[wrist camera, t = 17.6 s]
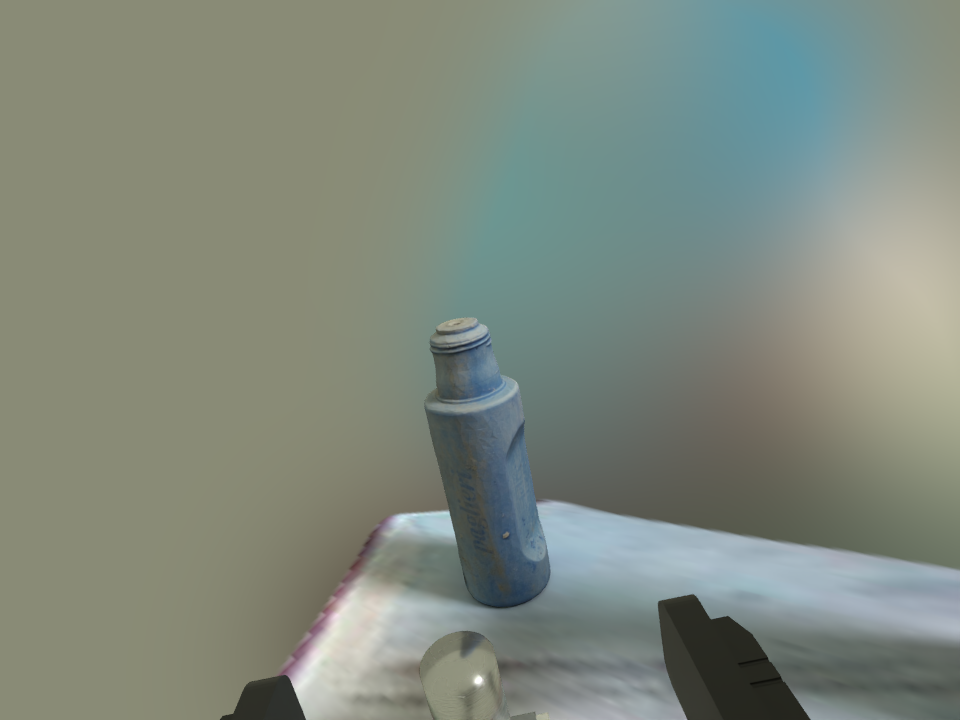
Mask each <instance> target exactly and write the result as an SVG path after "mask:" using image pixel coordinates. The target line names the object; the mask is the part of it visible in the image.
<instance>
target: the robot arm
mask: <svg viewBox="0 0 960 720" xmlns="http://www.w3.org/2000/svg"><path fill="white" fill-rule="evenodd" d="M658 611H659V619H660V627H661V636H662V644H663V652H664V659H665V664H666V667H667V671H668V674H669V678H670V680H671V683H672V686H673V688H674V691H675V693H676V695H677V697H678V700H679V702H680V704H681V706H682V708H683V711H684V713H685V715H686V717H687V720H810V718H809V717H808V715H807V714H806V712H805V711H804V709H803V708H802V707H801V705H800V704H799V702H798V701H797V699H796V698H795V696H794V695H793V693H792V692H791V691H790V689H789V688H788V686H787V685H786V683H785V682H783V681H782V678H781V676H780V674H779V673H778V672H777V670H776V669H775V667H774V666H773V664H772V663H771V662H769V660H768V657H767V656H766V654H765V653H764V651H763V650H762V648H761V647H760V645H759V644H758V642H757V641H756V639H755V638H754V637H753V635H752V634H751V633H750V632H748V631H747V630H746V629H744V628H743V627H742V626H741V625H739V624H738V623H737V622H735V621H734V620H733V619H731V618H730V617H729V616H726V617H721V618H716V619H710V618H709V616H708V614H707V613H706V611H705V610H704V608H703V606H702V605H701V603H700V601H699V600H698V598H697V597H696V596H695V595H693V594H692V595H687V596H682V597H677V598H672V599H667V600H662V601H659V602H658ZM220 720H306V718H305V716H304V713H303V711H302V708H301V706H300V703H299V701H298V698H297V696H296V693H295V691H294V688H293V686H292V683H291V681H290V679H289V678H288V676H286V675H282V676H277V677H272V678H268V679H262V680H258V681H252V682H249V683H248V684H247V685H246V686H245V688H244V690H243V692H242V694H241V697H240V700H239V702H238V704H237V706H236V709H235V711H234V713H233V714H230V715H225V716H222V718H221V719H220Z"/></svg>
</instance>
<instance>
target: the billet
mask: <svg viewBox="0 0 960 720" xmlns="http://www.w3.org/2000/svg"><path fill="white" fill-rule="evenodd" d="M420 678H421V681H422V685H423V688H424V691H425V695H426V698H427V702H428V705H429V708H430V712H431V715H432V718H433V720H511V718H510V714H509V710H508V706H507V702H506V698H505V693H504V689H503V685H502V681H501V677H500V673H499V669H498V664H497V660H496V656H495V652H494V649H493V646H492V644H491V643H490V641H489V640H488V639H487V638H486V637H484V636H483V635H481V634H478V633H475V632H471V631H461V632H455V633H451V634H449V635H446V636H444V637H442V638H441V639H439V640H438V641H436V642H435V643H434V644H433V645H432V646H431V647H430V648H429V649H428V650H427V652H426V653H425V655H424V656H423V659H422V661H421V664H420Z"/></svg>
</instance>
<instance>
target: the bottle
mask: <svg viewBox="0 0 960 720" xmlns="http://www.w3.org/2000/svg"><path fill="white" fill-rule="evenodd" d="M491 341H492V339H491V337H490V333H489V330H488V328H487V327H486V326H485V325H482V324H479V323H478V321H477V319H476V318H459V319H454V320H449V321H447V322H444V323H441V324H440V325H438V326H437V327H436V333H434V334H433V335H432V336H431V337H430V345H431V347H430V351H431V352H432V353H433V357H434V362H435V368H436V385H437V388H436V389H435V390H433V391H432V392H431V393H429V394H428V396H427V397H426V399H425V411H426V415H427V419H428V423H429V429H430V434H431V438H432V442H433V446H434V450H435V453H436V457H437V461H438V465H439V469H440V473H441V477H442V481H443V485H444V490H445V494H446V498H447V502H448V506H449V511H450V516H451V520H452V524H453V528H454V532H455V536H456V541H457V545H458V551H459V556H460V561H461V565H462V569H463V574H464V579H465V582H466V586H467V588H468V591H469V592H470V593H471V595H472V596H473V597H474V598H475V599H476V600H478V601H480V602H482V603H484V604H487V605H491V606H498V607H508V606H514V605H518V604H522V603H524V602H527V601H529V600H531V599H532V598H534V597H535V596H537V595H538V594H539V593H540V592H541V591H542V590H543V589H544V588H545V586H546V585H547V582H548V580H549V576H550V564H549V557H548V551H547V545H546V540H545V536H544V532H543V529H542V526H541V523H540V520H539V516H538V510H537V506H536V500H535V495H534V490H533V484H532V478H531V472H530V467H529V461H528V456H527V450H526V445H525V438H524V422H525V420H524V414H523V408H522V402H521V397H520V391H519V386H518V384H517V383H516V381H515V380H513V379H511V378H509V377H506V376H502V375H500V372H499V368H498V364H497V361H496V359H495V356H494V353H493V350H492V346H491Z"/></svg>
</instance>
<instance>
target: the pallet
mask: <svg viewBox="0 0 960 720" xmlns="http://www.w3.org/2000/svg"><path fill="white" fill-rule="evenodd" d="M510 718H511V720H549V715H548V713H543V714H538V715H536V714H535V712H532V713H527V714H522V715H517V716H512V717H510Z"/></svg>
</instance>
